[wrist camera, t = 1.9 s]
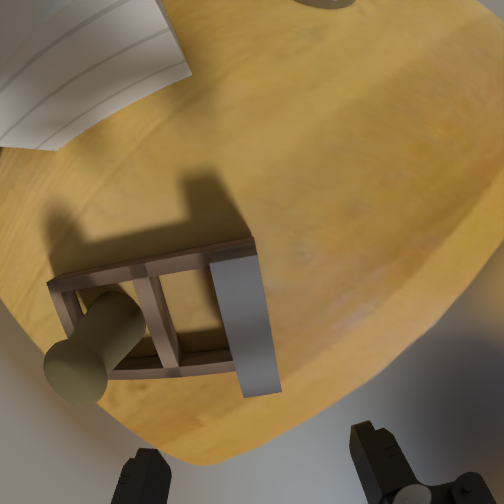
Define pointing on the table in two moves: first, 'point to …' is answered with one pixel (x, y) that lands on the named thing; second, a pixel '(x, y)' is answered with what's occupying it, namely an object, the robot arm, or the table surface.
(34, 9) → the pizza boxes
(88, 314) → the cork
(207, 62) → the table surface
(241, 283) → the divided wooden tray frame
